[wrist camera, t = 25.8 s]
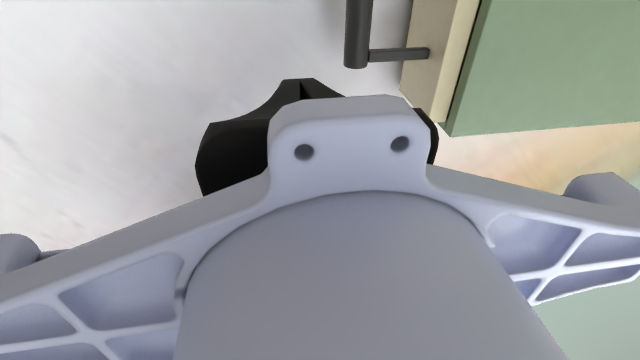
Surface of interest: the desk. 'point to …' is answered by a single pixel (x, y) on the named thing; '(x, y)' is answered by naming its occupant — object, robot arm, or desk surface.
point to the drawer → (419, 49)
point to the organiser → (548, 67)
